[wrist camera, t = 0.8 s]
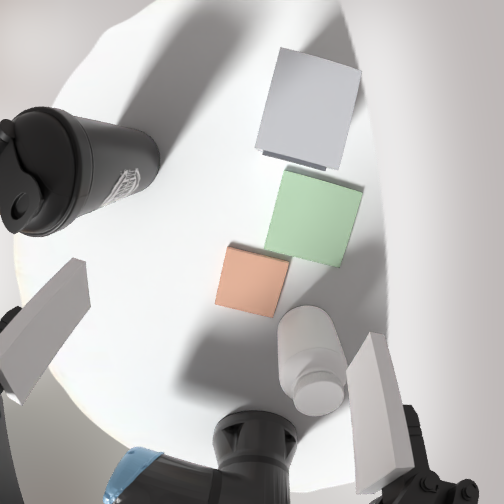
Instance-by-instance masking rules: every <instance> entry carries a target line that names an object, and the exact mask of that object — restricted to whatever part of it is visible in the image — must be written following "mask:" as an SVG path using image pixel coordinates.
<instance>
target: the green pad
mask: <svg viewBox="0 0 504 504" xmlns="http://www.w3.org/2000/svg"><path fill="white" fill-rule="evenodd" d="M362 194H363V193H362V192H359V191H356V190H352V189H349V188H346V187H343V186H339V185H336V184H333V183H329V182H326V181H322V180H319V179H315V178H312V177H308V176H304V175H301V174H297V173H293V172H289V171H286V170H284V173H283V177H282V180H281V184H280V188H279V192H278V196H277V200H276V204H275V208H274V212H273V215H272V219H271V223H270V227H269V231H268V235H267V238H266V242H265V246H264V249H265V250H269V251H273V252H277V253H281V254H285V255H289V256H293V257H297V258H301V259H305V260H310V261H314V262H318V263H322V264H326V265H330V266H334V267H338V268H340V265H341V262H342V259H343V256H344V253H345V250H346V247H347V244H348V240H349V237H350V234H351V231H352V228H353V224H354V221H355V218H356V214H357V211H358V207H359V204H360V201H361V197H362Z"/></svg>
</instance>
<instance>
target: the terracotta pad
mask: <svg viewBox="0 0 504 504" xmlns="http://www.w3.org/2000/svg"><path fill="white" fill-rule="evenodd" d="M288 265H289V261H285V260H281V259H277V258H273V257H269V256H265V255H261V254H257V253H252V252H248V251H244V250H240V249H236V248H232V247H227V250H226V255H225V259H224V263H223V268H222V272H221V277H220V282H219V286H218V291H217V295H216V300H215V304H216V305H220V306H224V307H228V308H232V309H237V310H241V311H245V312H249V313H254V314H258V315H262V316H267V317H271V318H273V315H274V312H275V309H276V306H277V302H278V299H279V296H280V292H281V289H282V286H283V282H284V279H285V276H286V272H287V269H288Z"/></svg>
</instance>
